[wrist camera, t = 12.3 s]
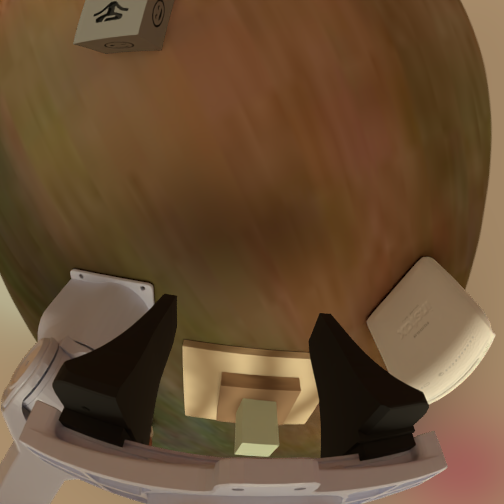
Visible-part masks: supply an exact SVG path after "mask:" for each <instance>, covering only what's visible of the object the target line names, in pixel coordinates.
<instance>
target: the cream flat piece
mask: <svg viewBox="0 0 504 504" xmlns="http://www.w3.org/2000/svg"><path fill="white" fill-rule="evenodd" d="M183 380H184V401H185V415H187V416H193V417H200V418H207V419H215V420H216V421H223V422H233V423H236V412H237V410H238V408H239V406H240V403H241V401H242V399H243V398H246V399H254V400H263V401H273V402H276V406H277V420H278V425H283V424H305V422H306V421H307V420H308V418H309V417H310V415H311V414H312V412H313V411H314V409H315V408H316V406H317V405H318V403H319V397H318V391H317V387H316V382H315V378H314V374H313V369H312V365H311V360H310V353H307V352H290V351H276V350H264V349H253V348H244V347H235V346H227V345H219V344H211V343H204V342H197V341H191V340H185V339H184V342H183Z"/></svg>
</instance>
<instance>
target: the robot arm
mask: <svg viewBox="0 0 504 504" xmlns="http://www.w3.org/2000/svg"><path fill="white" fill-rule="evenodd" d="M70 274H71V280H70V281H69V282H68V283H67V284H66V286H65V287H64V288H63V289H62V290H61V291H60V293H59V294H58V295H57V296H56V297H55V299H54V300H53V301H52V302H51V304H50V305H49V306H48V307H47V309H46V310H45V311H44V313H43V315H42V317H41V320H40V323H39V328H38V342H37V343H36V344H35V345H34V346H33V347H32V348H31V349H30V350H29V352H28V353H27V354H26V355H25V357H24V358H23V359H22V361H21V362H20V364H19V365H18V367H17V368H16V370H15V372H14V374H13V376H12V378H11V380H10V382H9V384H8V386H7V387H6V389H5V390H4V392H3V395H2V405H1V411H2V414H3V417H4V419H5V422H6V424H7V427H8V429H9V431H10V434H11V436H12V438H13V440H14V442H13V443H12V445H11V447H10V448H9V450H8V452H7V454H6V455H5V457H4V459H3V461H2V462H1V464H0V504H50V503H51V502H52V500H53V498H54V497H55V495H56V493H57V492H58V490H59V489H60V487H61V486H62V484H63V482H64V481H65V480H72V479H80V480H82V481H85V482H87V483H89V484H92V485H94V486H96V487H99V488H101V489H104V490H106V491H109V492H112V493H114V494H117V495H120V496H123V497H126V498H129V499H132V500H135V501H139V502H142V503H146V504H362V503H366V502H370V501H373V500H376V499H380V498H383V497H386V496H389V495H392V494H395V493H398V492H401V491H404V490H407V489H410V488H412V487H415V486H418V485H420V484H421V483H423V482H425V481H427V480H428V479H430V478H432V477H433V476H435V475H437V474H438V473H440V472H441V471H443V470H445V469H446V468H447V464H446V461H445V458H444V455H443V452H442V450H441V447H440V444H439V441H438V439H437V436H436V434H435V431H431V432H428V433H424V434H421V435H418V436H416V437H413V435H412V433H414V431H415V429H414V426H413V425H414V424H415V423H416V422H417V421H418V420H419V419H421V418H422V417H423V415H424V414H425V413H426V412H427V410H428V408H429V404H428V402H427V400H426V398H425V395H424V393H423V392H422V391H420V390H418V389H415V388H413V387H411V386H409V385H407V384H406V383H404V382H402V381H400V380H399V379H397V378H396V377H394V376H393V375H391V374H390V373H388V372H387V371H386V370H384V369H383V368H382V367H380V366H379V365H378V364H377V363H375V362H374V361H373V360H372V359H371V358H370V357H369V356H368V355H367V354H366V353H365V352H364V351H363V350H362V349H361V348H360V347H359V346H358V345H357V344H356V343H355V342H354V341H353V340H352V339H351V337H350V336H349V335H348V334H347V333H346V332H345V330H344V329H343V328H342V327H341V326H340V324H339V323H338V322H337V321H336V320H335V318H334V317H333V316H332V315H331V314H324V313H320V314H319V316H318V319H317V322H316V324H315V327H314V329H313V332H312V334H311V337H310V339H309V352H310V360H311V365H312V369H313V374H314V378H315V382H316V387H317V391H318V397H319V406H320V419H321V458H315V459H312V458H250V457H230V458H222V457H212V456H204V455H197V454H190V453H184V452H178V451H172V450H167V449H162V448H158V447H153V446H149V442H150V433H151V426H152V420H153V413H154V408H155V402H156V397H157V392H158V388H159V383H160V380H161V377H162V374H163V371H164V368H165V365H166V362H167V359H168V356H169V354H170V351H171V348H172V345H173V342H174V337H175V333H176V328H177V296H175V295H169V294H164V295H163V296H162V297H161V298H160V299H159V300H158V301H157V302H156V303H155V304H154V288H153V285H152V284H150V283H147V282H141V281H135V280H129V279H124V278H118V277H113V276H108V275H103V274H97V273H92V272H87V271H83V270H78V269H72V270H71V272H70ZM81 274H82V275H83V276H82V275H81ZM142 286H144V287H145V288H143V287H142Z"/></svg>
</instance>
